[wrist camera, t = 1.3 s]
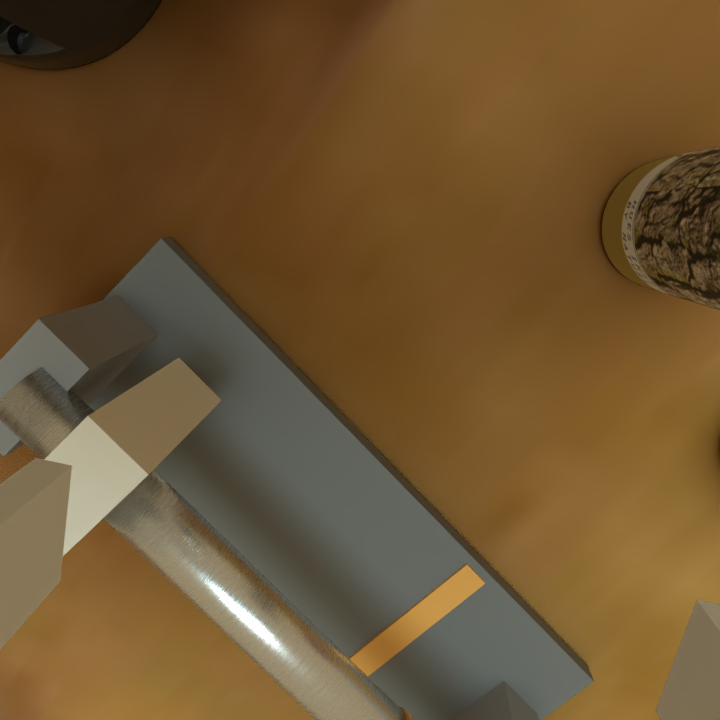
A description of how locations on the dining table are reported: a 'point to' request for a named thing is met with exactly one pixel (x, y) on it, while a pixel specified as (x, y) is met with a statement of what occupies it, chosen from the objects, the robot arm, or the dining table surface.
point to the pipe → (210, 571)
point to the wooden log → (669, 226)
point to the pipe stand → (310, 500)
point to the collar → (128, 442)
